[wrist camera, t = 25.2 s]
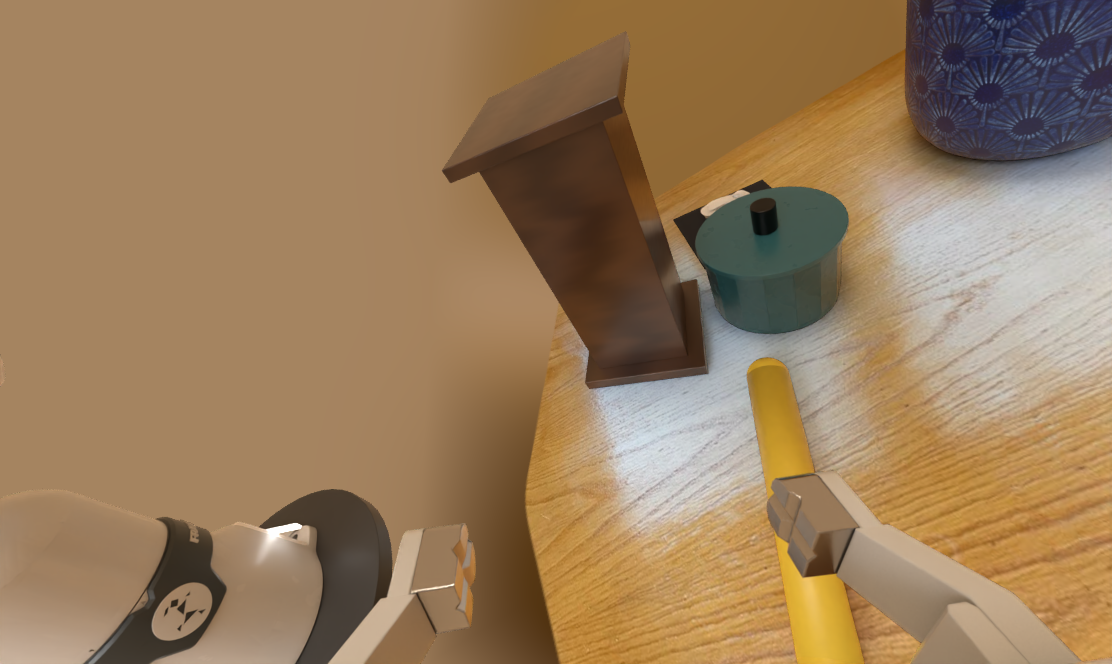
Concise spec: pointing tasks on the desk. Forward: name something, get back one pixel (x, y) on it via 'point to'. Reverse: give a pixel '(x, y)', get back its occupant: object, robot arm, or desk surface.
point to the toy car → (696, 218)
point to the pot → (779, 297)
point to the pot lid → (772, 233)
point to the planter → (1009, 75)
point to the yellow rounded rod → (812, 601)
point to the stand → (589, 215)
